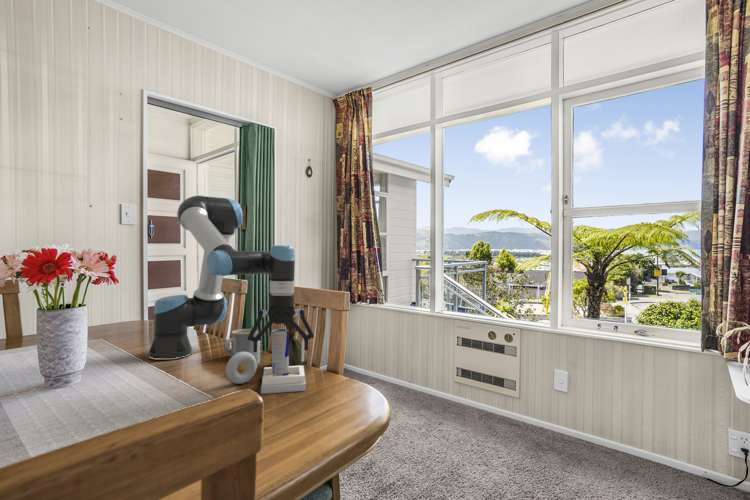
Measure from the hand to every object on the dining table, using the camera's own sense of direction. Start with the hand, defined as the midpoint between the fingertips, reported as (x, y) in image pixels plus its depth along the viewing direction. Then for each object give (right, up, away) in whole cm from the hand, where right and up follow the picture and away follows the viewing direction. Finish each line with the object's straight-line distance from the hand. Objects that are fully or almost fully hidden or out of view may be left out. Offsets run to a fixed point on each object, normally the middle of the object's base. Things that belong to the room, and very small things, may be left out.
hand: (280, 361), depth 122 cm
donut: (-13, -7, 0) cm, 15 cm away
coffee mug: (-23, -7, +30) cm, 38 cm away
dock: (+1, -7, +1) cm, 7 cm away
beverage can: (0, -5, 0) cm, 5 cm away
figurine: (-1, -8, +19) cm, 21 cm away
